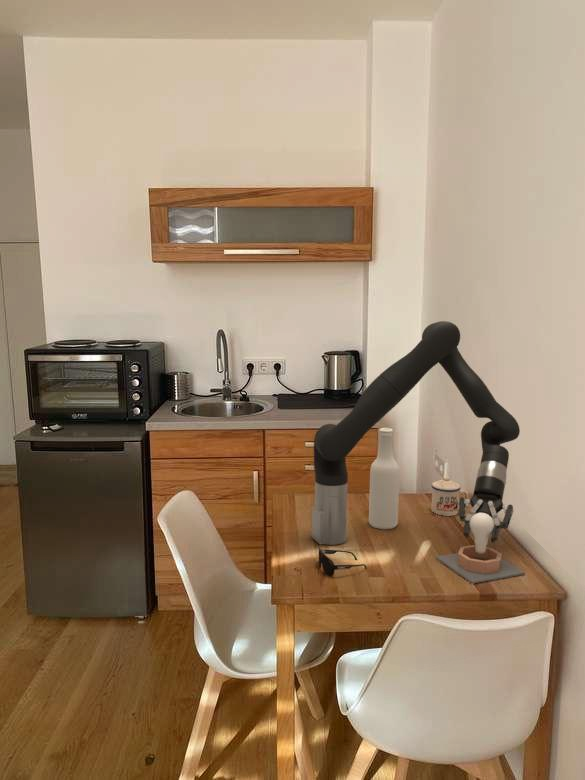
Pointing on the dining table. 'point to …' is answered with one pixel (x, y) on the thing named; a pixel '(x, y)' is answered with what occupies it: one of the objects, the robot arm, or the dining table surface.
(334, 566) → the sunglasses
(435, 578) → the dining table surface
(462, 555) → the ring holder
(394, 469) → the alcohol
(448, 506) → the teacup with lid
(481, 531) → the lightbulb
